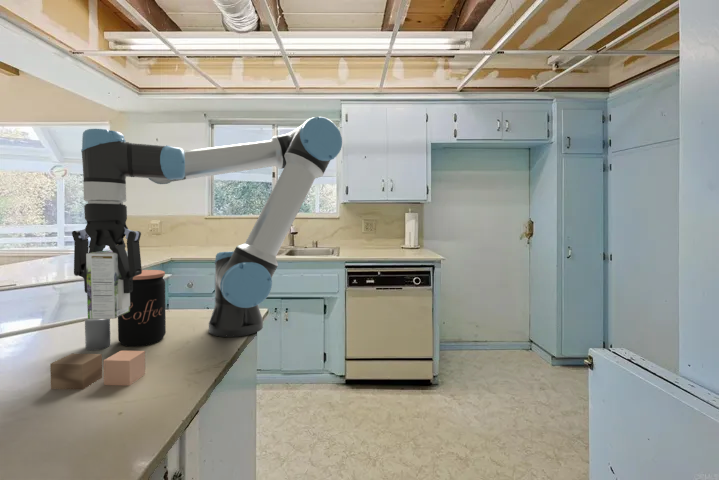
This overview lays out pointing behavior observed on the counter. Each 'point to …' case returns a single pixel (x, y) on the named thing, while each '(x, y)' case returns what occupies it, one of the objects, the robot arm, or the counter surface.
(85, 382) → the walnut block
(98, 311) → the syrup box
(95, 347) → the grey cylinder
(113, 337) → the counter surface
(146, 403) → the counter surface
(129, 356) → the terracotta block
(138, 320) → the coffee jar
